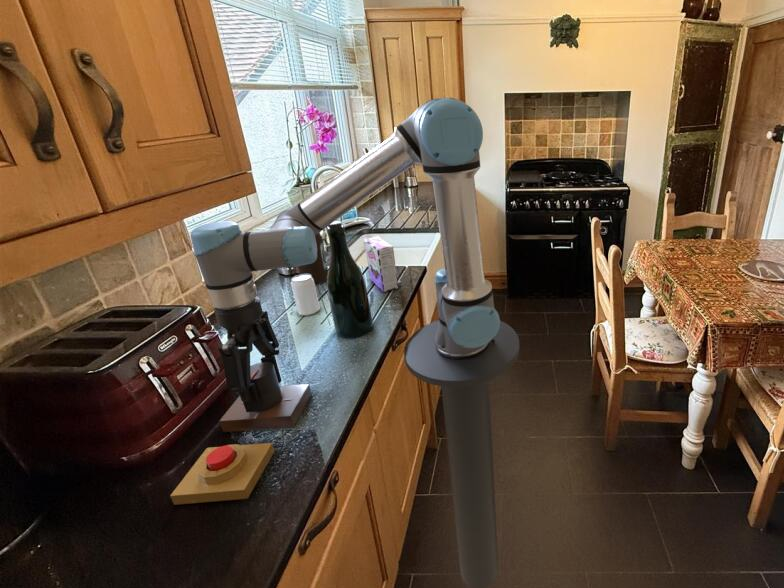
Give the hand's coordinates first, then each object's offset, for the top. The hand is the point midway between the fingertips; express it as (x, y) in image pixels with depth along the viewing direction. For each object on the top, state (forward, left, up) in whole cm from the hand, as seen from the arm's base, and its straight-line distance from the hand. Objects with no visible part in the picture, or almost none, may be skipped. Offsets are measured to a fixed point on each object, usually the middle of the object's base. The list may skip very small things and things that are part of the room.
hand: (264, 395), depth 86 cm
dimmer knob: (0, 0, -2) cm, 2 cm away
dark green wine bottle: (-9, -33, -5) cm, 35 cm away
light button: (0, +16, -1) cm, 16 cm away
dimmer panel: (0, 0, -5) cm, 5 cm away
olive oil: (+16, -71, -5) cm, 73 cm away
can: (+9, -46, -5) cm, 47 cm away
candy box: (-11, -64, -5) cm, 65 cm away
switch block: (0, +16, -5) cm, 17 cm away
